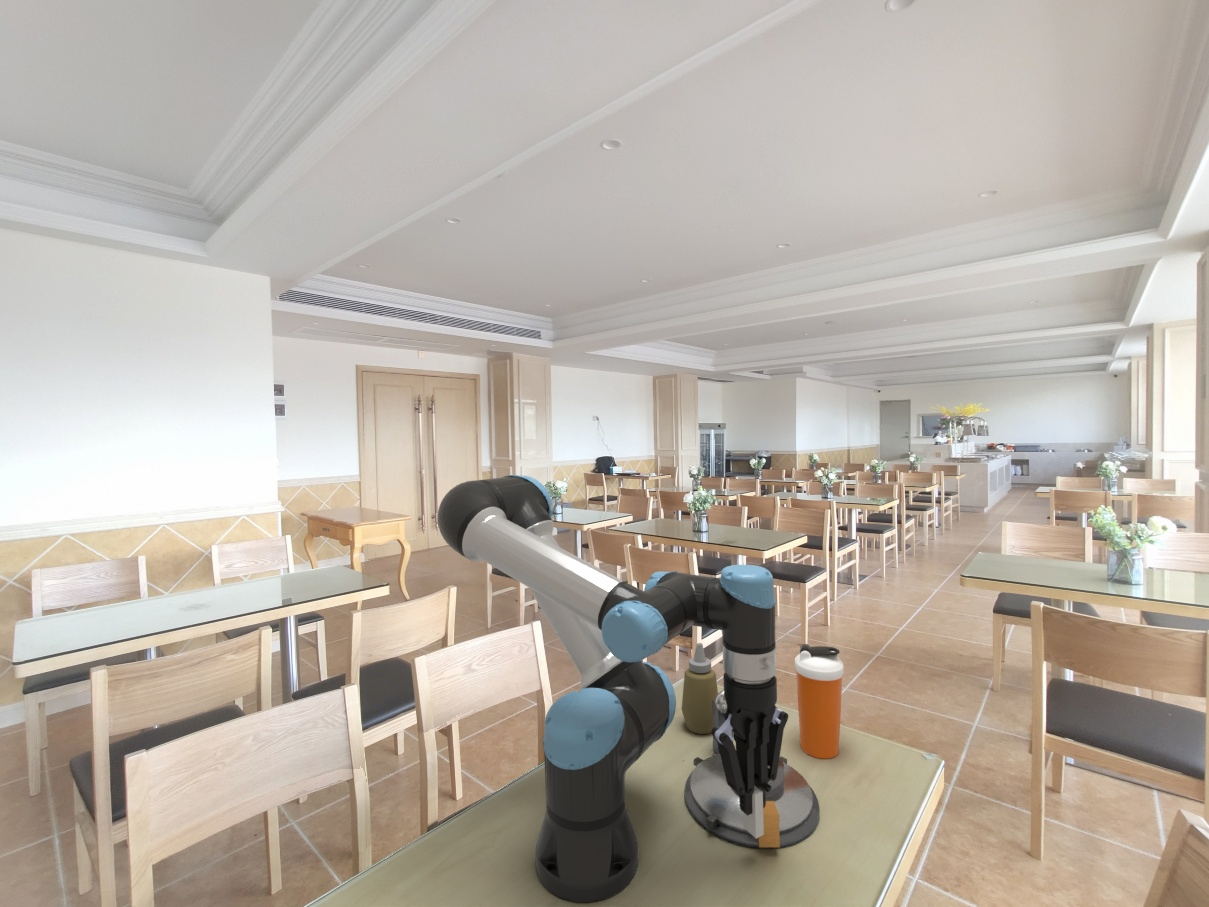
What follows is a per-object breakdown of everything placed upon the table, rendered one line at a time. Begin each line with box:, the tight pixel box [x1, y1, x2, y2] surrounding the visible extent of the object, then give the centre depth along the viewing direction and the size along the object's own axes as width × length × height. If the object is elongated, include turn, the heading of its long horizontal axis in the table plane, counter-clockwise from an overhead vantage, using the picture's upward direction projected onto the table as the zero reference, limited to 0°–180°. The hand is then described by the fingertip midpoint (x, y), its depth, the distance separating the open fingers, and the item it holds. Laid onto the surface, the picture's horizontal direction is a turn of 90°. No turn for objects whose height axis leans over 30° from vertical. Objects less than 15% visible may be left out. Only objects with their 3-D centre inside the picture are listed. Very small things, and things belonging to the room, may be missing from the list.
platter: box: [690, 753, 813, 847], centre depth 93 cm, size 20×22×5 cm
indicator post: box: [712, 689, 734, 755], centre depth 106 cm, size 4×8×13 cm, turn 10°
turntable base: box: [684, 769, 820, 850], centre depth 94 cm, size 22×22×1 cm
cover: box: [731, 757, 784, 802], centre depth 94 cm, size 9×9×5 cm
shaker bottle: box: [794, 643, 845, 760], centre depth 108 cm, size 9×9×20 cm
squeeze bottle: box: [681, 642, 719, 735], centre depth 117 cm, size 8×8×18 cm
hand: (753, 830), depth 82 cm, fingers closed
